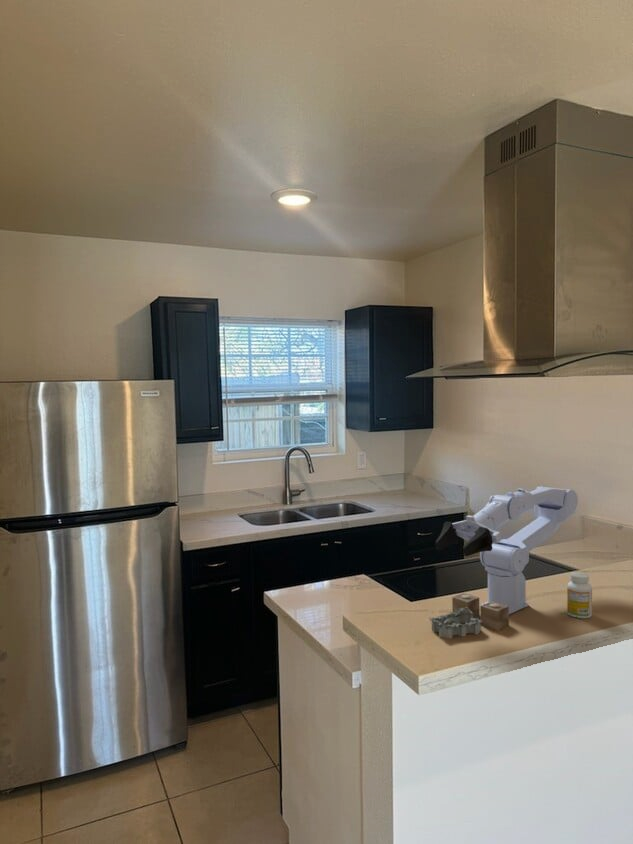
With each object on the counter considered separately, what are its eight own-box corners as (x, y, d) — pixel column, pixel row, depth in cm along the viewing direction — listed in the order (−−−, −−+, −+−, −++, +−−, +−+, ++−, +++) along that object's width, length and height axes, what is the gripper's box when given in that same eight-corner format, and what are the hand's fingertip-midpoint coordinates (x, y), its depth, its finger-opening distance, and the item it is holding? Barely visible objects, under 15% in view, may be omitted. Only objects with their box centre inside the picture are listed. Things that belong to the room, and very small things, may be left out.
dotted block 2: (492, 620, 139) (491, 600, 139) (508, 625, 135) (508, 605, 135) (480, 625, 136) (480, 605, 136) (497, 630, 133) (497, 610, 132)
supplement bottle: (575, 608, 144) (575, 569, 144) (596, 615, 140) (596, 574, 139) (562, 614, 141) (562, 574, 141) (584, 620, 137) (584, 579, 136)
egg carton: (469, 622, 138) (469, 605, 138) (485, 635, 131) (485, 617, 131) (427, 627, 136) (427, 610, 135) (441, 641, 128) (441, 622, 128)
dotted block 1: (464, 610, 145) (463, 592, 145) (479, 615, 142) (479, 596, 141) (452, 615, 142) (452, 596, 142) (468, 620, 139) (467, 601, 138)
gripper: (456, 504, 145) (421, 528, 137) (508, 511, 134) (474, 538, 126) (461, 529, 147) (428, 555, 139) (513, 539, 136) (480, 567, 127)
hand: (450, 549), depth 132 cm, fingers open, 7 cm apart
